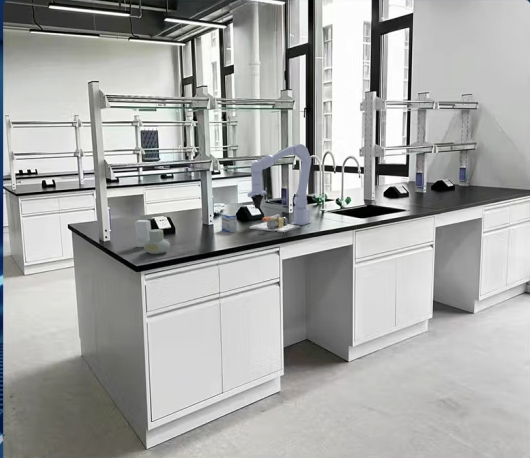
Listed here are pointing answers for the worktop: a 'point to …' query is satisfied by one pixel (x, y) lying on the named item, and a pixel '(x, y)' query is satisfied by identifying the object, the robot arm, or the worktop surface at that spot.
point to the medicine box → (229, 222)
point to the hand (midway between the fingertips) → (257, 208)
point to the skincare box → (142, 232)
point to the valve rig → (276, 225)
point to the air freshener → (156, 242)
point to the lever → (269, 218)
